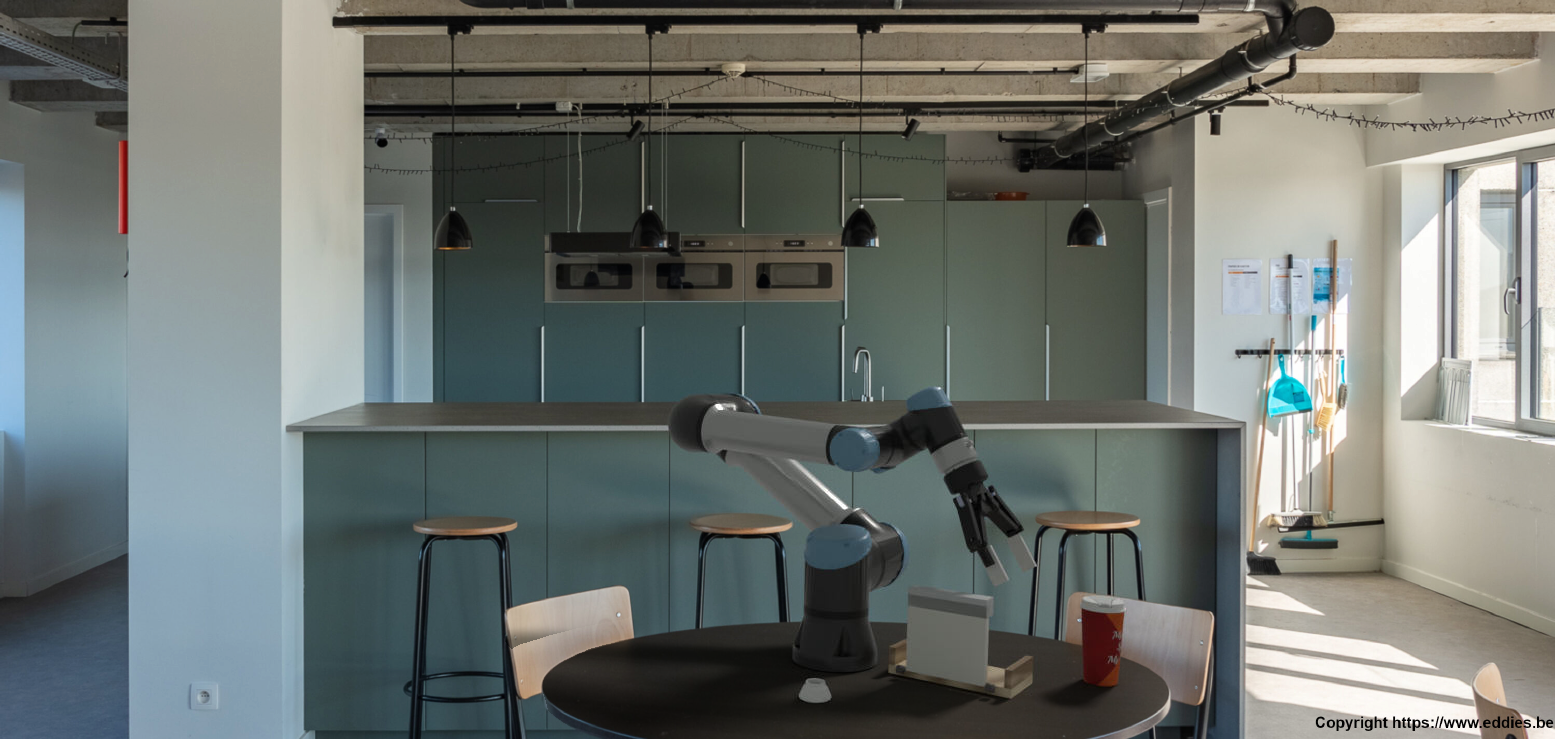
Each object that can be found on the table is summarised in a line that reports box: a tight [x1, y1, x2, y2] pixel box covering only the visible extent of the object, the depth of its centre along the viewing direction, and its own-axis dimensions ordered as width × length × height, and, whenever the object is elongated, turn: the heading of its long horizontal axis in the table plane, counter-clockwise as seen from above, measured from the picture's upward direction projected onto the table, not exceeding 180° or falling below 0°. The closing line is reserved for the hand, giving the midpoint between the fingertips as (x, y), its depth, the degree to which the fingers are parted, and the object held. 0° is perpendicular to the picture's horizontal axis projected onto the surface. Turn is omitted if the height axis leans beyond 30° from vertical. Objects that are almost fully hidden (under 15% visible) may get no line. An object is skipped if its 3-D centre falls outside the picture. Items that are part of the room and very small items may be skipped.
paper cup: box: [1078, 595, 1128, 688], centre depth 177 cm, size 8×8×14 cm
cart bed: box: [888, 638, 1034, 700], centre depth 176 cm, size 22×12×4 cm, turn 57°
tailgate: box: [906, 584, 995, 687], centre depth 172 cm, size 14×3×14 cm, turn 57°
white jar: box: [798, 677, 832, 704], centre depth 164 cm, size 5×3×5 cm
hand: (1016, 576), depth 181 cm, fingers open, 13 cm apart
